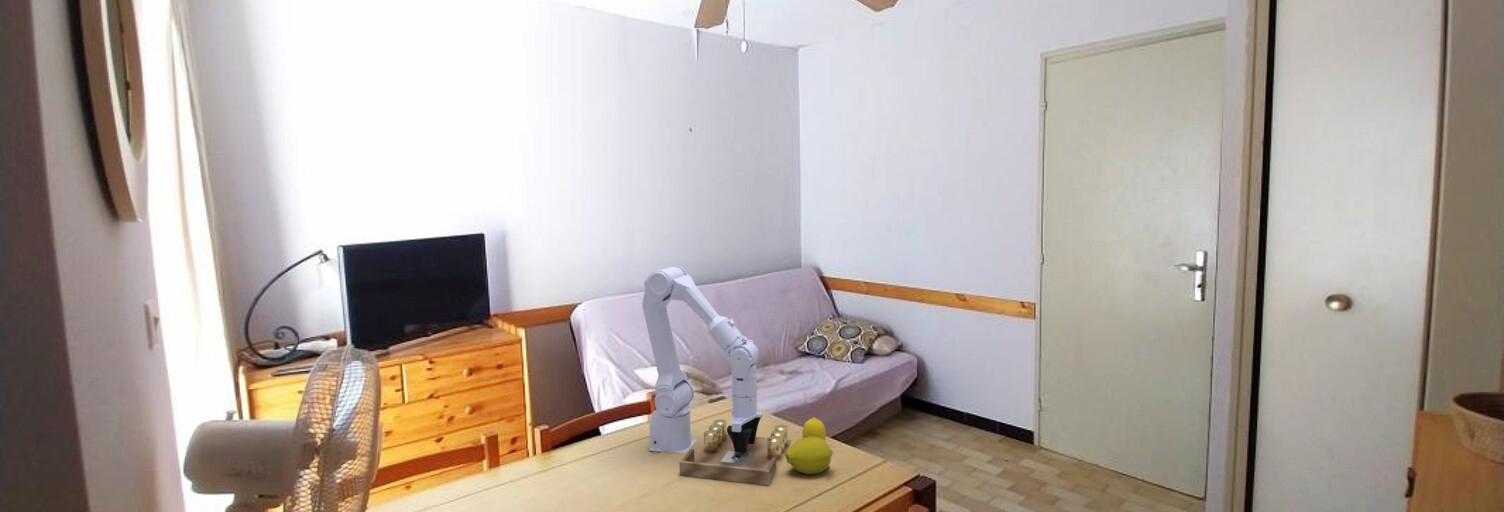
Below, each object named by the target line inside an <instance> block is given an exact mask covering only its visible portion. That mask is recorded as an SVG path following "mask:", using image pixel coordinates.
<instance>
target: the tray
mask: <svg viewBox="0 0 1504 512" xmlns="http://www.w3.org/2000/svg"><path fill="white" fill-rule="evenodd" d="M767 438H768V437H761V436H756V438H755V442H754V444H748V446H747V453H752V464H751V466H750V468H744V467H735V466H726V465H721V460H722V459H723V457H724V456H725V455H726V453H727V452H728V451H734V452H735V450H734V446H733V442H732V440H731V438H730V436H729V435H728V433H727V440H726V441H723V442H722V446H721V447H718V451H717V452H716V453H713V454H707V453H705V452H704V446H703V447H702V448H701V449H700V451H699V452H698V453H697V454H696V455H695V449H694V448H693V449H692V448H690V449H689V450H688V451H687V452H686V454H685V455H684V456H683V458H682V459H681V460H679V462H678V463H679V466H678V467H679V476H682V477H692V478H699V479H709V480H717V481H718V480H719V481H725V482H726V481H727V482H733V483H734V482H735V483H741V484H742V483H744V484H752V485H761V486H762V485H763V486H767V487H769V486H770V485H771V482H772V480H773V478H774V476H775V474H776V472H777V471H778V469H779V467H780V465H781V463H782V461H783V459H784V457H785V454H786V452H787V451H788V450H789V449H790V447H791V446H790V445H791V444H792V442H793V439H788V446H787V447H785V452H784V453H782V454H781V459H779V460H776V458H774V457H773V458H772V460H769V459H768V456H767Z"/></svg>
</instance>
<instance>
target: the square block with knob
mask: <svg viewBox="0 0 1504 512" xmlns="http://www.w3.org/2000/svg"><path fill="white" fill-rule="evenodd" d="M751 464H752V453H744V452H734V451H728V452H727V453H726V455H725V456H724V457H723V459H722V460H721V465H726V466H735V467H744V468H750V466H751Z"/></svg>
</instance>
